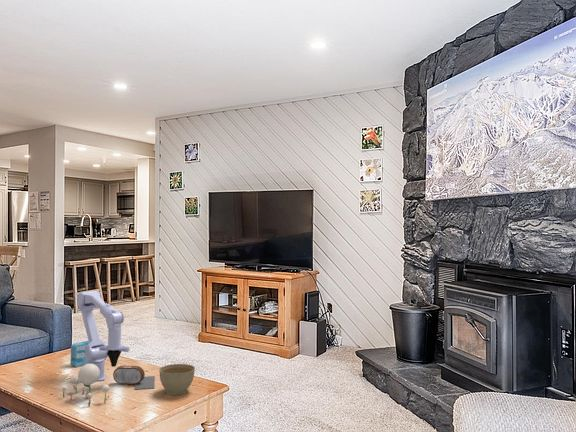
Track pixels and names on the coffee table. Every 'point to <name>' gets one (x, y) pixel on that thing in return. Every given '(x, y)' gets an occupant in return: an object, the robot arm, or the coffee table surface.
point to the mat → (146, 383)
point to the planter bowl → (176, 378)
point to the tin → (128, 374)
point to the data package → (78, 354)
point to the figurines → (88, 380)
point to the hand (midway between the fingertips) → (113, 366)
